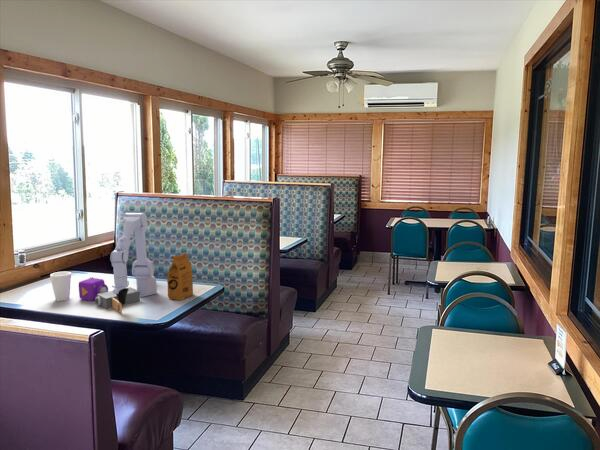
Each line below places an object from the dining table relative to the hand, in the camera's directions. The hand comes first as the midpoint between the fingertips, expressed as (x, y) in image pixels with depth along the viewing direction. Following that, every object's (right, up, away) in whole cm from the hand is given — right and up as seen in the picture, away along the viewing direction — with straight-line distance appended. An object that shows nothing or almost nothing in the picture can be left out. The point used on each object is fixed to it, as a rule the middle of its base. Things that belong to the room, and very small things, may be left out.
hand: (122, 304), depth 236 cm
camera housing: (-6, -1, +14) cm, 15 cm away
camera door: (-3, -3, +2) cm, 5 cm away
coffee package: (+22, 0, +23) cm, 31 cm away
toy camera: (-21, 0, +21) cm, 29 cm away
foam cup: (-37, -1, +20) cm, 42 cm away
